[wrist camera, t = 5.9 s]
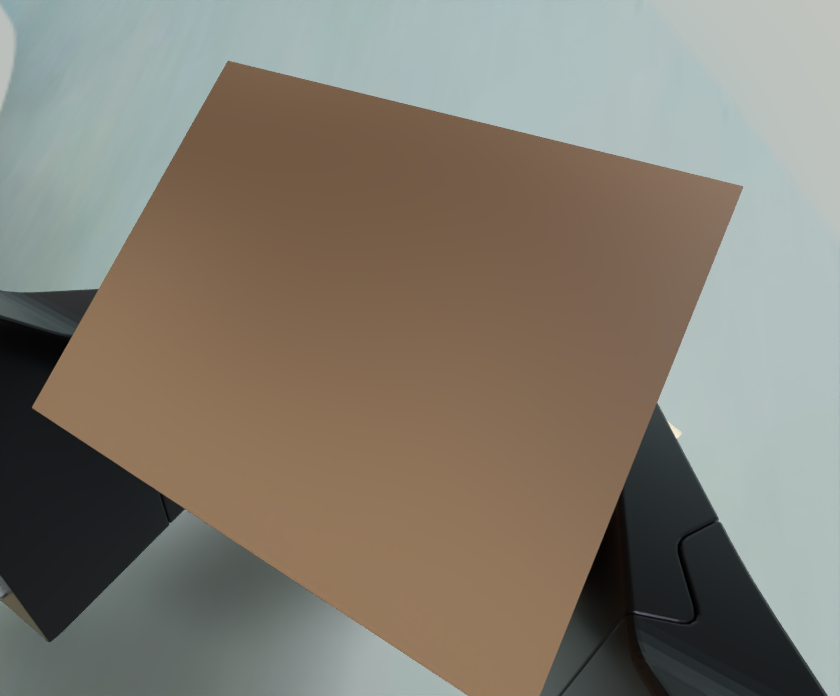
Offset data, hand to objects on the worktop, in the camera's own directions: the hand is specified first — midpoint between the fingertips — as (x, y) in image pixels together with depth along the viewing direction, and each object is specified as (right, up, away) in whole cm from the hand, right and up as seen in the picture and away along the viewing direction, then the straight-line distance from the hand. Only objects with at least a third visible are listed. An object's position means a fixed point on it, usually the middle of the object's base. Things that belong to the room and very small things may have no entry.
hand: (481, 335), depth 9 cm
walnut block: (+1, -3, +6) cm, 7 cm away
